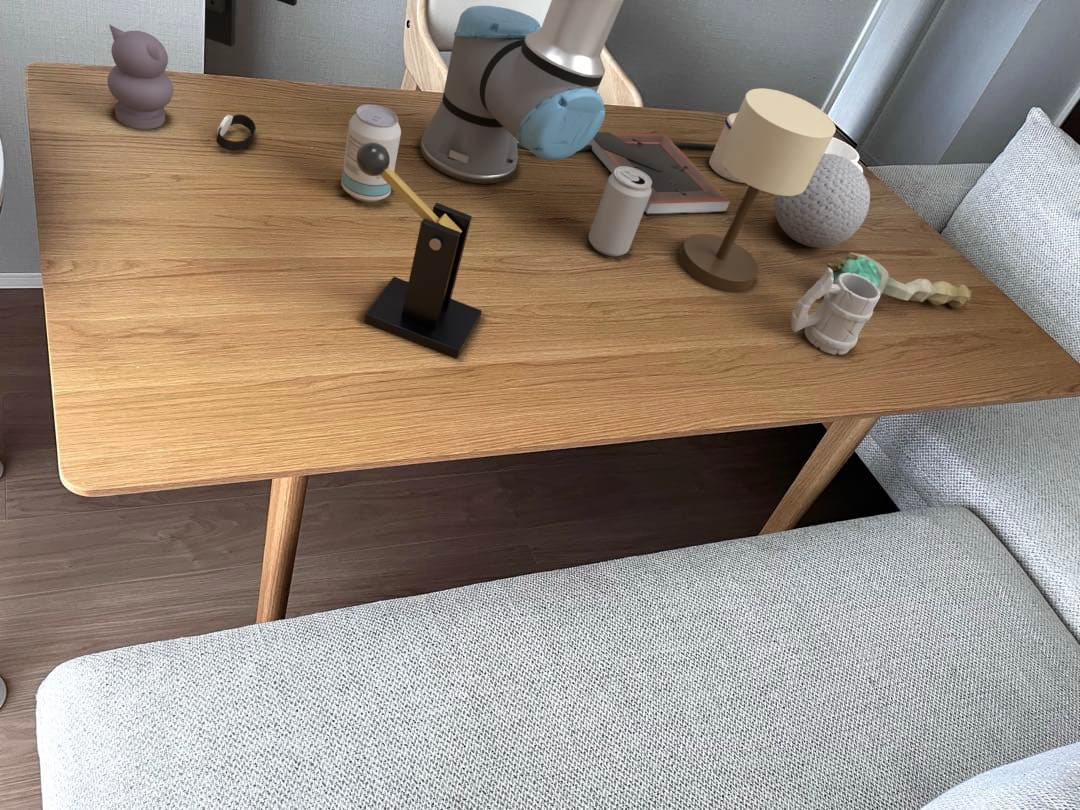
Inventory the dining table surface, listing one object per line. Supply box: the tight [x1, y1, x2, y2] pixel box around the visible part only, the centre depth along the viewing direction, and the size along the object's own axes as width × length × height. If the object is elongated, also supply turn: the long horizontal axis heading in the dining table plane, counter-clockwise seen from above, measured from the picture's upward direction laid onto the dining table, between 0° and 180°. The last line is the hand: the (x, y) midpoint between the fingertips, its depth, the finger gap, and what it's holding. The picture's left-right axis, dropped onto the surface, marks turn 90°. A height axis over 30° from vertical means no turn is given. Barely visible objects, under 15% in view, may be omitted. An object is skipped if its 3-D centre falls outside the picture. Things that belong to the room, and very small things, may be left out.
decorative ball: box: [773, 154, 871, 248], centre depth 150 cm, size 15×15×15 cm
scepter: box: [827, 252, 973, 308], centre depth 146 cm, size 9×8×30 cm
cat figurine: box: [106, 24, 174, 130], centre depth 124 cm, size 8×8×12 cm
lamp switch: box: [356, 142, 462, 232], centre depth 102 cm, size 14×4×4 cm, turn 75°
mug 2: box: [790, 267, 881, 356], centre depth 129 cm, size 8×12×12 cm, turn 102°
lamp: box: [679, 87, 837, 293], centre depth 132 cm, size 13×13×26 cm
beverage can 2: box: [588, 166, 652, 257], centre depth 132 cm, size 6×6×12 cm
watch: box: [215, 113, 257, 152], centre depth 129 cm, size 8×5×4 cm, turn 169°
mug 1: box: [824, 136, 864, 174], centre depth 164 cm, size 11×9×10 cm
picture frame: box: [587, 131, 731, 215], centre depth 156 cm, size 16×2×22 cm
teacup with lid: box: [708, 112, 745, 184], centre depth 164 cm, size 12×9×12 cm
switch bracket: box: [363, 202, 483, 359], centre depth 107 cm, size 12×9×15 cm
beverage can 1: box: [340, 104, 402, 203], centre depth 125 cm, size 7×7×12 cm
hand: (253, 20), depth 95 cm, fingers open, 13 cm apart
